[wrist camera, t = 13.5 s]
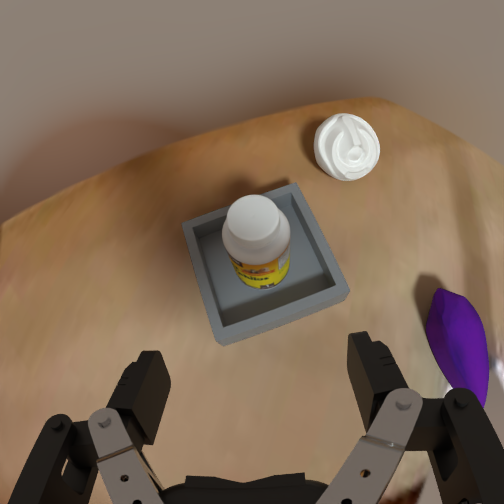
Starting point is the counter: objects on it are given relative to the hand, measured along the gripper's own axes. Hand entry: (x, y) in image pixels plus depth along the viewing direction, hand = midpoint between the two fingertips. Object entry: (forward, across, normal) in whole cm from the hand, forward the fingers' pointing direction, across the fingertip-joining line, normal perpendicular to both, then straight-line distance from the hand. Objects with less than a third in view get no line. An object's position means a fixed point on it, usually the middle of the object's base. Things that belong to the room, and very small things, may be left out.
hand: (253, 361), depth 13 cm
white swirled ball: (+29, -11, -4) cm, 32 cm away
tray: (+21, 0, +5) cm, 21 cm away
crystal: (+12, -19, +14) cm, 27 cm away
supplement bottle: (+20, 0, +4) cm, 20 cm away
